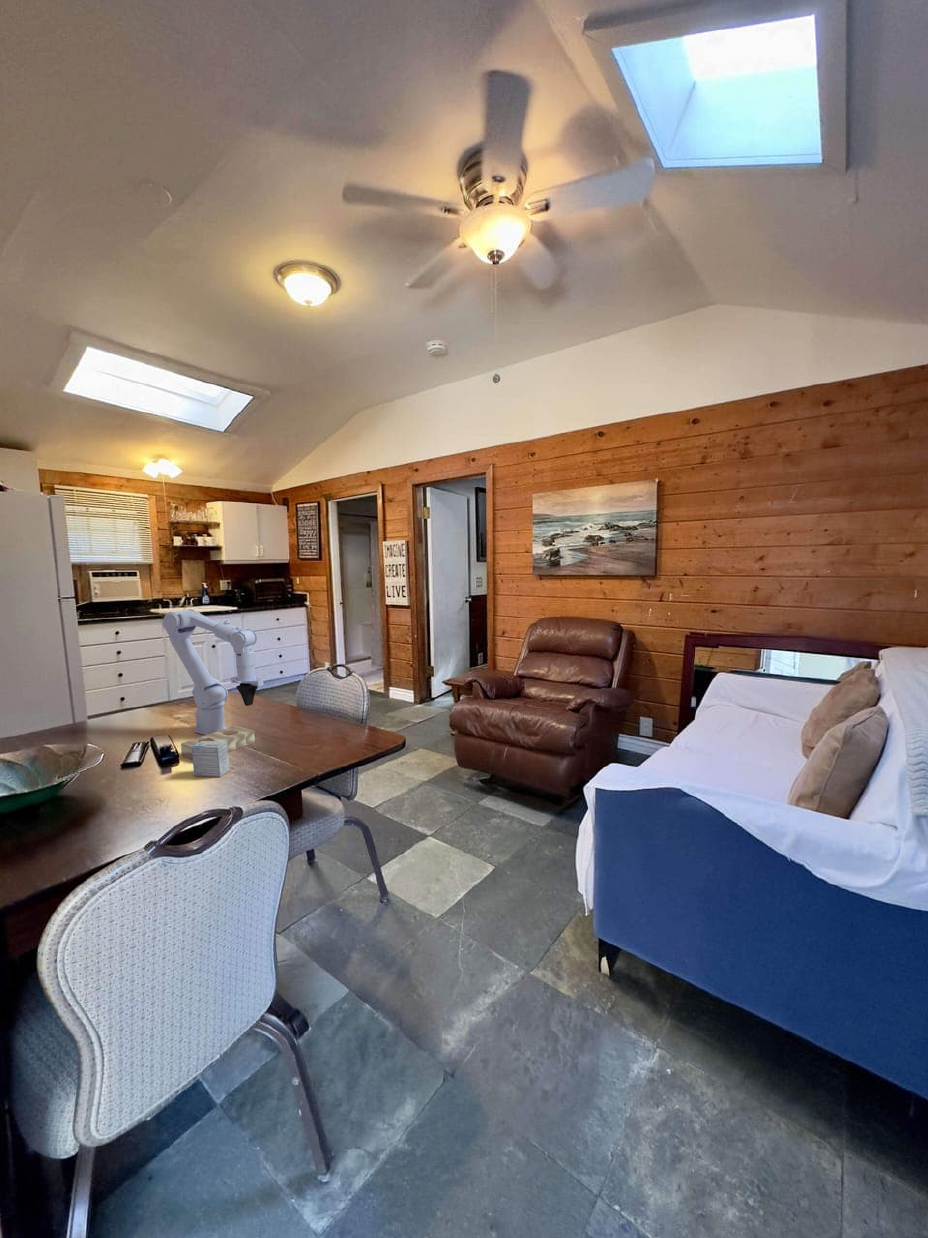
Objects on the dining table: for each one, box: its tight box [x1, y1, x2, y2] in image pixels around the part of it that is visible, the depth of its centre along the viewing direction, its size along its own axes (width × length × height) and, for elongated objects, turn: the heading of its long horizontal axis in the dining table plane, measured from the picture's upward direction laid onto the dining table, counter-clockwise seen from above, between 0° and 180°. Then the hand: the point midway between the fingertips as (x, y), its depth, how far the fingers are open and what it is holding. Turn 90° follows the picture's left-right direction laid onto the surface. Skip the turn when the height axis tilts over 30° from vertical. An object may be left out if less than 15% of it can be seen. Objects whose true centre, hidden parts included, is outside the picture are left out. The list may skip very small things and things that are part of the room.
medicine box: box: [192, 741, 230, 778], centre depth 132 cm, size 8×4×9 cm, turn 84°
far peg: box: [223, 730, 238, 735], centre depth 154 cm, size 3×3×4 cm
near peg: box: [199, 738, 214, 742], centre depth 147 cm, size 3×3×4 cm
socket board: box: [180, 725, 256, 761], centre depth 150 cm, size 18×10×4 cm, turn 150°
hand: (248, 705), depth 162 cm, fingers closed
